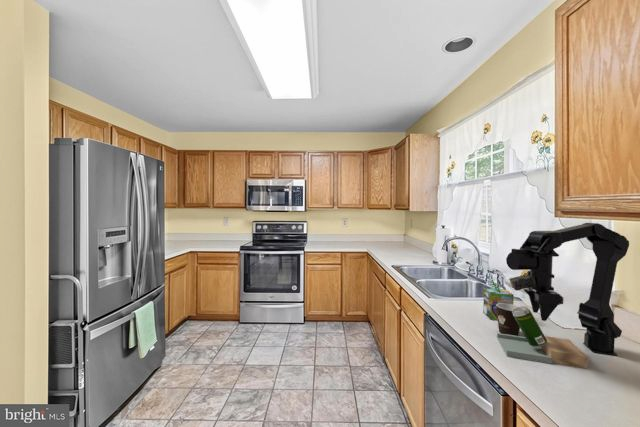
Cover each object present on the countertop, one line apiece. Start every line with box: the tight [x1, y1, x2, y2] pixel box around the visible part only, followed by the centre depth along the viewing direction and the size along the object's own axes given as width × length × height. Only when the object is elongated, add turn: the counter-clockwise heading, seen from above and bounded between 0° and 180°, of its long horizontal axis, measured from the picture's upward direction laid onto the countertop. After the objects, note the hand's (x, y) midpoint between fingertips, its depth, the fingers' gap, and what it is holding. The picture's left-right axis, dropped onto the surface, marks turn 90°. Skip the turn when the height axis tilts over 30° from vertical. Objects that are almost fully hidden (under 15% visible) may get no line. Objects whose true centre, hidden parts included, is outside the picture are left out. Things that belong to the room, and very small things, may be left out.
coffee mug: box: [492, 303, 521, 336], centre depth 112 cm, size 12×9×10 cm
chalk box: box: [482, 281, 515, 321], centre depth 127 cm, size 9×9×15 cm
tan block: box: [540, 335, 588, 369], centre depth 94 cm, size 9×12×4 cm
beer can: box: [512, 305, 547, 348], centre depth 97 cm, size 5×5×12 cm
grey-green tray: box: [496, 332, 553, 364], centre depth 98 cm, size 12×14×2 cm
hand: (539, 316), depth 96 cm, fingers open, 7 cm apart
